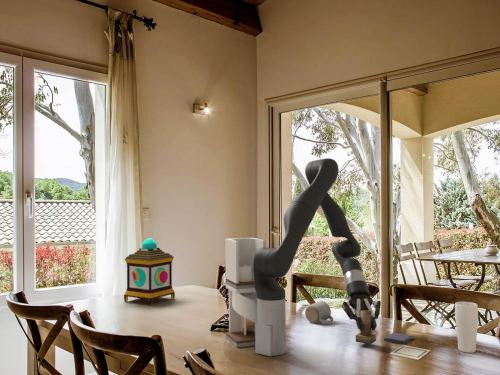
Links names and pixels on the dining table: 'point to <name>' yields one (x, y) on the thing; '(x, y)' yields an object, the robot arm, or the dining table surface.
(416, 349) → the label card
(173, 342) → the dining table surface
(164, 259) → the decorative lantern
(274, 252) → the robot arm
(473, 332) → the drinking glass
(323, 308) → the ceramic mug
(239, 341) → the white tiered stand
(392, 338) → the ink pad
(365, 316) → the stamp
